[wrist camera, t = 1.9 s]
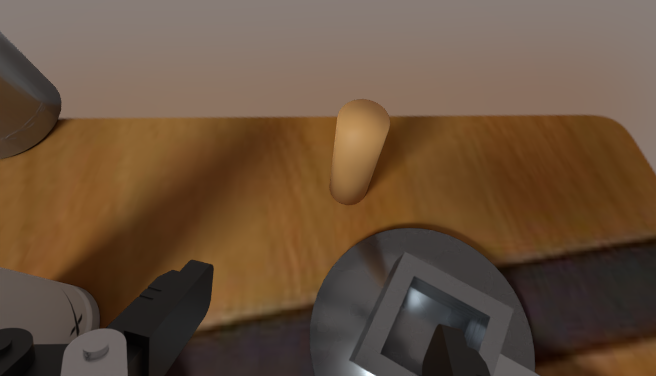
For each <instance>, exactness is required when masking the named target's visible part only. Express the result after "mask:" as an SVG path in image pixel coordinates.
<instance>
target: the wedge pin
mask: <svg viewBox="0 0 656 376" xmlns="http://www.w3.org/2000/svg"><path fill="white" fill-rule="evenodd" d="M389 127H390V118H389V115H388V113H387V112H386V110H385V109H384V108H383V107H382V106H381V105H379V104H378V103H376V102H373V101H370V100H366V99H359V100H353V101H351V102H349V103H347V104H345V105H344V106H343V107H342V108H341V110H340V111H339V114H338V118H337V126H336V135H335V144H334V153H333V161H332V170H331V179H330V192H331V195H332V196H333V198H334V199H335V200H336V201H338V202H339V203H341V204H345V205H353V204H356V203H358V202H360V201H361V200H362V199H363V198H364V196H365V194H366V192H367V189H368V186H369V183H370V181H371V178H372V175H373V172H374V169H375V167H376V164H377V161H378V158H379V156H380V153H381V150H382V147H383V144H384V142H385V139H386V136H387V133H388V131H389Z"/></svg>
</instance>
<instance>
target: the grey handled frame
mask: <svg viewBox="0 0 656 376" xmlns="http://www.w3.org/2000/svg"><path fill="white" fill-rule="evenodd" d="M438 324H442V325H446V326H450V327H454V328H458V329H461V330H462V331H463V333H464V336H465V339H466V343H467V346H468V348H472V349H476V350H477V352H478V353H479V354H480V356H481V357H482V358H483V360H484V361H485V362H486V364H487V366H488V369H489V372H490V375H491V376H540V375H538V374H536V373H535V356H534V346H533V340H532V334H531V331H530V327H529V324H528V320H527V317H526V315H525V312H524V310H523V308H522V305H521V303H520V301H519V299H518V298H517V296H516V294H515V292H514V290H513V289H512V287H511V286H510V284H509V283H508V282H507V280H506V279H505V277H504V276H503V275H502V274H501V273H500V272H499V270H498V269H497V268H496V267H495V266H494V265H493V264H492V263H491V262H490V261H489V260H488V259H487V258H486V257H484V256H483V255H482V254H481V253H479V252H478V251H477V250H475V249H474V248H472V247H471V246H469V245H467V244H466V243H464V242H462V241H460V240H458V239H456V238H454V237H451V236H449V235H447V234H443V233H440V232H437V231H432V230H427V229H419V228H402V229H394V230H389V231H384V232H381V233H378V234H375V235H373V236H370V237H368V238H366V239H365V240H363V241H361V242H359V243H358V244H356V245H355V246H353V247H352V248H350V249H349V250H348V251H347V252H346V253H345V254H344V255H343V256H342V257H341V258H340V259H339V260H338V261H337V262H336V263H335V265H334V266H333V267H332V268H331V270H330V271H329V273H328V275H327V276H326V278H325V279H324V281H323V283H322V285H321V288H320V290H319V292H318V295H317V298H316V301H315V304H314V307H313V313H312V318H311V326H310V350H311V359H312V364H313V370H314V374H315V376H422V365H423V360H424V356H425V354H426V351H427V349H428V346H429V344H430V341H431V339H432V336H433V334H434V331H435V329H436V327H437V325H438Z"/></svg>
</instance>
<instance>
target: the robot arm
mask: <svg viewBox="0 0 656 376" xmlns="http://www.w3.org/2000/svg"><path fill="white" fill-rule="evenodd" d="M60 111H61V98H60V94H59V92H58V91H57V89H56V87H55V86H53V84H52V83H51V82H50V81H49V80H48V79H47V78H46V77H45V76H43V74H42V73H41V72H40V71H39V70H38V69H37V68H36V67H35V66H34V65H33V64H32V63H31V62H30V61H29V60H28V59H27V58H26V57H25V56H24V55H23V54H22V53H21V52H20V51H19V50H18V49H17V48H16V47H15V46H14V45H13V44H12V43H11V42H10V41H9V40H8V39H7V38H6V37H5V36H4V35H3V34H2V33H1V32H0V159H2V158H6V157H10V156H13V155H16V154H18V153H21V152H23V151H25V150H27V149H29V148H30V147H32V146H34V145H35V144H37V143H38V142H39V141H40V140H42V139H43V138H44V137H45V136H46V135H47V134H48V133H49V132H50V131H51V129H52V128H53V127H54V125H55V123H56V122H57V120H58V117H59V114H60ZM213 271H214V267H213V265H211V264H208V263H204V262H200V261H196V260H190V261H189V262H188V263H187V264H186V265H185V266H184V267H183V268H182V270H181V271H180V272H179V271H175V270H171V271H169V272H167V273H165V274H163V275H161V276H159V277H157V278H156V279H155V280H154V281H153V282H152V283H151V284H150V285H149V286H148V288H147V289H145V290H144V291H143V292H142V293H141V294H140V296H139V297H137V298H136V299H135V300H134V301H133V302H132V303H131V304H130V305H129V306H128V307H127V308H126V309H125V310H124V311H123V312H122V313H121V314H120V315H119V316H118V317H117V318H116V319H114V320H113V321H112V322H111V323H110V324H109V325H108V326H107V327H106V328H105V329H96V330H92V331H89V332H86V333H84V334H82V335H80V336H78V337H77V338H75V339H74V340H73V341H72V342H71V343H70V344H34V342H33V336H32V334H31V333H30V332H29V331H27V330H25V329H22V328H4V329H0V376H165V374H166V373H167V371H168V370H169V368H170V367H171V365H172V364H173V363H174V361H175V360H176V358H177V357H178V355H179V354H180V352H181V351H182V349H183V348H184V346H185V345H186V344H187V342H188V341H189V339H190V338H191V336H192V335H193V333H194V332H195V330H196V329H197V327H198V326H199V325H200V323H201V322H202V320H203V319H204V317H205V315H206V313H207V311H208V308H209V305H210V301H211V292H212V282H213ZM422 376H491V375H490V372H489V369H488V366H487V364H486V362H485V361H484V360H483V358H482V357H481V356H480V354H479V353H478V352H477V350H476V349H472V348H468V346H467V343H466V339H465V336H464V333H463V331H462V330H461V329H458V328H454V327H450V326H446V325H442V324H438V325H437V327H436V329H435V331H434V334H433V336H432V339H431V341H430V344H429V346H428V349H427V351H426V354H425V356H424V360H423V365H422Z"/></svg>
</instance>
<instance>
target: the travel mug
mask: <svg viewBox="0 0 656 376" xmlns="http://www.w3.org/2000/svg"><path fill="white" fill-rule="evenodd" d="M99 324H100V314H99V308H98V306H97V303H96V301H95V299H94V298H93V296H92V295H91V294H90V293H88V292H87V291H86V290H84V289H82V288H80V287H77V286H73V285H69V284H65V283H61V282H57V281H53V280H49V279H45V278H41V277H37V276H33V275H29V274H25V273H21V272H17V271H13V270H9V269H5V268H1V267H0V329H4V328H22V329H25V330H27V331H29V332H30V333H31V334H32V336H33V342H34V344H70V343H71V342H72V341H73V340H74V339H75V338H77V337H78V336H80V335H82V334H84V333H86V332H89V331H92V330H96V329H99Z"/></svg>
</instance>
